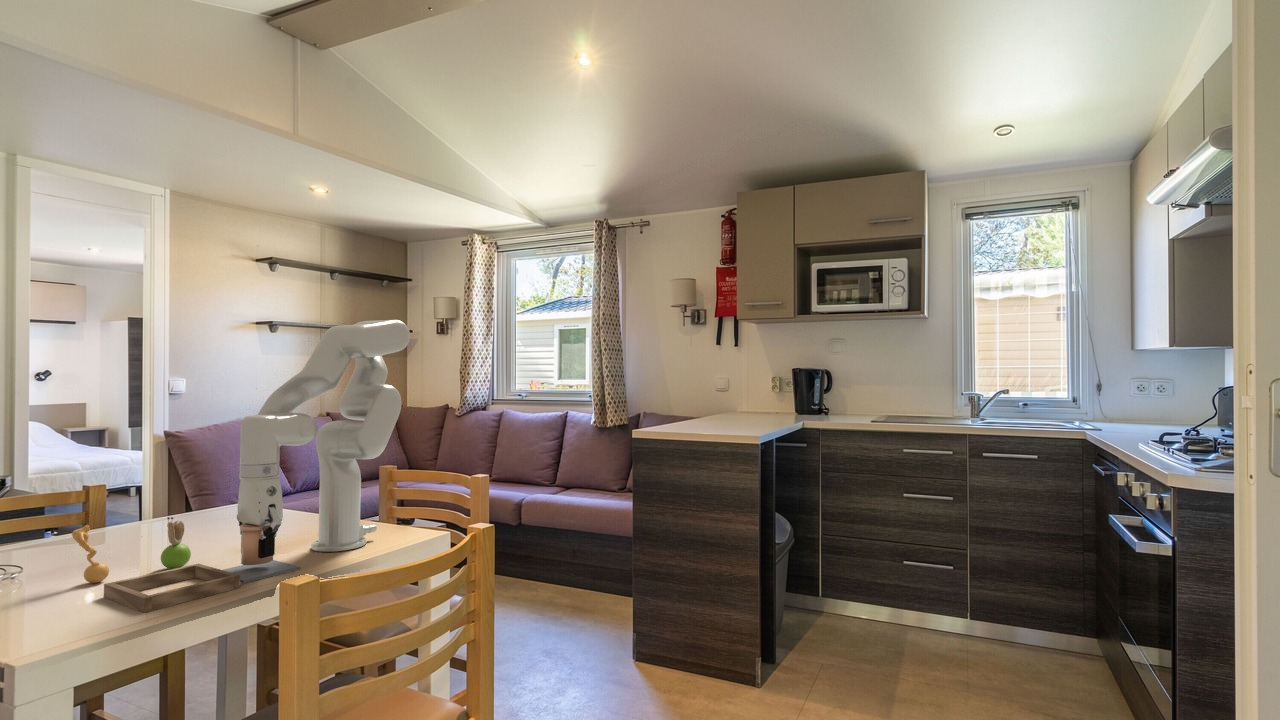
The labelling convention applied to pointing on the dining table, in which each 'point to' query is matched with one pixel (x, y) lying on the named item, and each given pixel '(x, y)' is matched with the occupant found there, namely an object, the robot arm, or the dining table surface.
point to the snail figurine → (175, 547)
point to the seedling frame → (130, 596)
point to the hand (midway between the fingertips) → (257, 553)
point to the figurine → (95, 570)
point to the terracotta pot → (252, 545)
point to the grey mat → (261, 570)
